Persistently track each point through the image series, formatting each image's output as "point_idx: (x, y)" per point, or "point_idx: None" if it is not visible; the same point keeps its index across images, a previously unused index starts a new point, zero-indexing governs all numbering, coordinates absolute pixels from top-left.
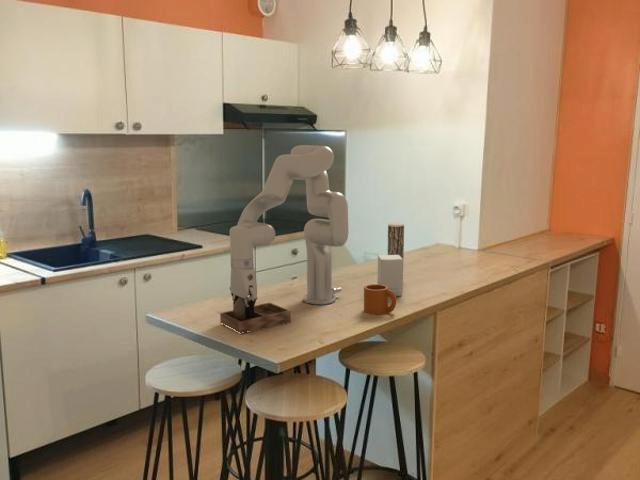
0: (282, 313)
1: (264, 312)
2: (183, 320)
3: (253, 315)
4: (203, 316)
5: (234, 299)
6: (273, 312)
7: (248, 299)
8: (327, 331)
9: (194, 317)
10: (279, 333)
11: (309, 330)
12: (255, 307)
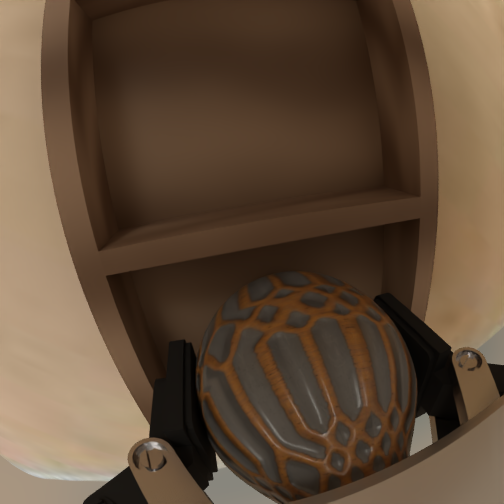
0: (417, 39)
1: (124, 70)
2: (73, 457)
3: (391, 301)
4: (28, 401)
5: (207, 496)
6: (171, 6)
7: (410, 431)
8: (496, 18)
9: (40, 426)
10: (466, 172)
11: (480, 45)
12: (80, 152)
